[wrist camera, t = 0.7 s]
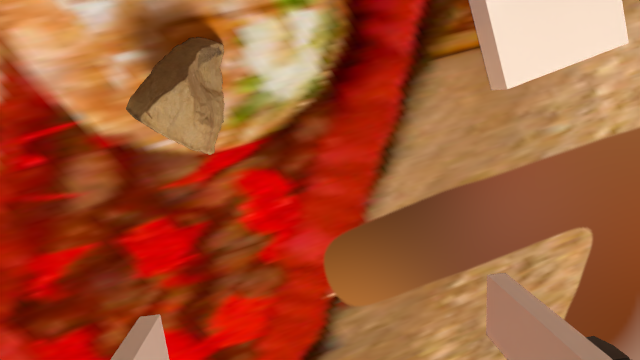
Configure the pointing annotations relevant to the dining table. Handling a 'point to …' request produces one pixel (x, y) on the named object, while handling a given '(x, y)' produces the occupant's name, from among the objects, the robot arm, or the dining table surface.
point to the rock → (184, 95)
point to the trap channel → (543, 35)
